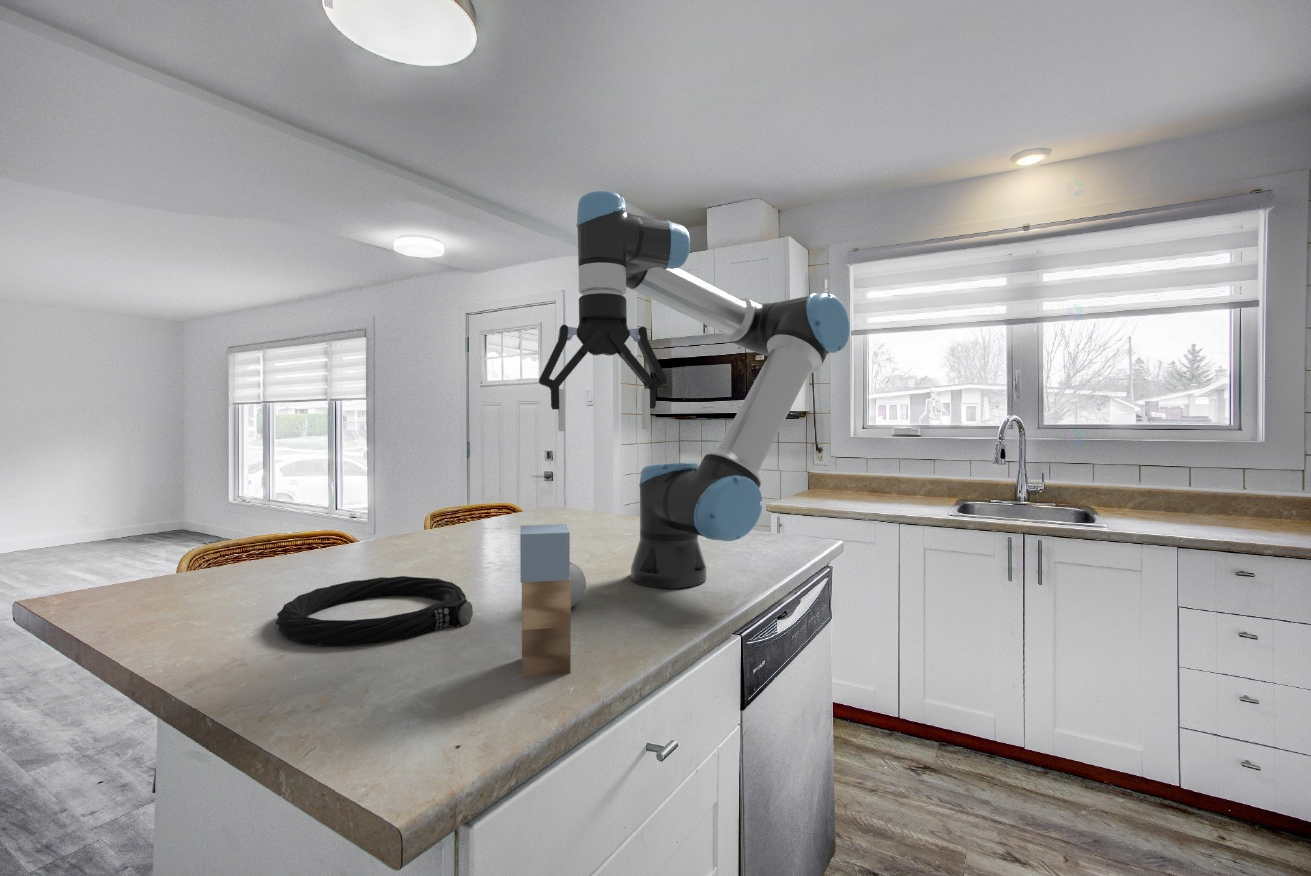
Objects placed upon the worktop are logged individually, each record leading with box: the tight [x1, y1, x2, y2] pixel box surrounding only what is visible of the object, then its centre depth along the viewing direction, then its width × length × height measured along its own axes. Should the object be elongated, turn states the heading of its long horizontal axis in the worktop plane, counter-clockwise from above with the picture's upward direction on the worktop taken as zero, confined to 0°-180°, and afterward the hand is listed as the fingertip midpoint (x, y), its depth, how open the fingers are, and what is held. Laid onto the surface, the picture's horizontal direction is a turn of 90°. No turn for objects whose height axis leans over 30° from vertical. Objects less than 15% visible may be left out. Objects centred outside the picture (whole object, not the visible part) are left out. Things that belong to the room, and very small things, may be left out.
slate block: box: [519, 523, 571, 584], centre depth 78 cm, size 6×6×6 cm
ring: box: [274, 575, 474, 647], centre depth 98 cm, size 28×4×30 cm
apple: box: [570, 561, 587, 608], centre depth 103 cm, size 8×8×8 cm
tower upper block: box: [521, 579, 572, 631], centre depth 79 cm, size 6×6×6 cm
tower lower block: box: [521, 626, 572, 678], centre depth 79 cm, size 6×6×6 cm
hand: (604, 430), depth 97 cm, fingers open, 13 cm apart
